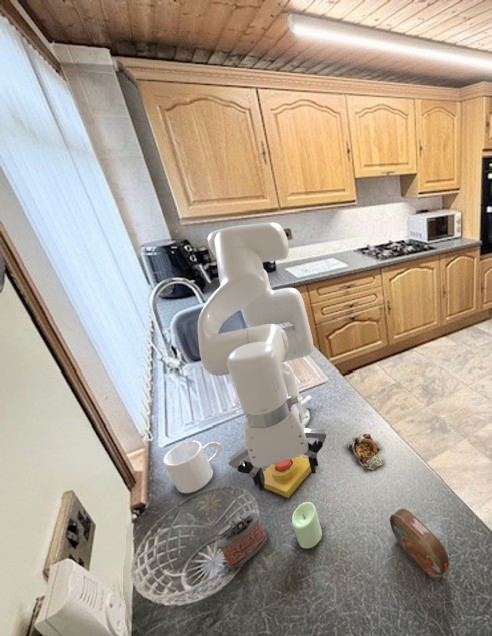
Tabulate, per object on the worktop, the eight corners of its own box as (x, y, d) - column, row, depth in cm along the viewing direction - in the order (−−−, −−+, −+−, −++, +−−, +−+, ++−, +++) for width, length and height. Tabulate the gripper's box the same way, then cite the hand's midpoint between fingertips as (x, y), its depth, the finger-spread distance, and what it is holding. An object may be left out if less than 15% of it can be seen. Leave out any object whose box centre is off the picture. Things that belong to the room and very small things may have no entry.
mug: (232, 472, 92) (221, 444, 88) (180, 499, 85) (165, 471, 81) (225, 454, 98) (214, 428, 94) (175, 478, 91) (161, 451, 87)
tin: (390, 534, 75) (386, 508, 72) (401, 524, 77) (398, 498, 74) (440, 589, 66) (439, 562, 62) (451, 575, 68) (451, 549, 64)
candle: (310, 553, 73) (303, 528, 69) (293, 542, 75) (285, 517, 71) (327, 531, 77) (320, 507, 73) (310, 522, 79) (302, 497, 75)
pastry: (367, 474, 90) (366, 464, 88) (346, 447, 98) (344, 438, 97) (390, 460, 94) (389, 450, 92) (367, 435, 102) (366, 426, 101)
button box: (286, 456, 96) (283, 445, 95) (315, 466, 93) (312, 455, 91) (257, 485, 88) (253, 474, 86) (288, 498, 84) (284, 487, 83)
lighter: (262, 531, 77) (250, 501, 73) (270, 541, 75) (258, 510, 71) (225, 562, 72) (210, 531, 67) (232, 573, 70) (217, 542, 65)
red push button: (283, 458, 91) (282, 454, 90) (294, 462, 90) (293, 457, 89) (273, 469, 88) (272, 464, 87) (284, 473, 87) (283, 468, 86)
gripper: (315, 385, 67) (330, 449, 75) (216, 409, 62) (242, 476, 70) (320, 408, 61) (335, 476, 69) (210, 438, 56) (239, 508, 63)
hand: (288, 476), depth 69 cm, fingers open, 9 cm apart
